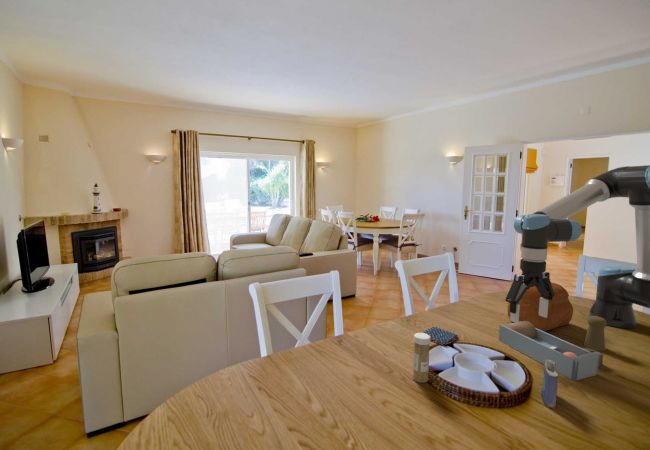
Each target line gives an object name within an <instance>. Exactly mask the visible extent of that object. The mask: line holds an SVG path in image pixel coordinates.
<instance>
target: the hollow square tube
mask: <svg viewBox="0 0 650 450" xmlns="http://www.w3.org/2000/svg"><path fill="white" fill-rule="evenodd" d="M586 350H587V349H586ZM587 351H589V352H596V351H595V350H592V349H588V350H587ZM599 353H600V358H599V366H602V365H603V363H604V362H603V361H604V353H602V352H599Z"/></svg>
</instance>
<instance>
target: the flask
mask: <svg viewBox="0 0 650 450" xmlns="http://www.w3.org/2000/svg"><path fill="white" fill-rule="evenodd" d="M555 365H556V363H555V362H554V361H551V360H548V359H547V360H546V361H545V364H543V376H542V383H541V390H540V391H541V392H540V396H541V400H542V402H543V404H544V405H545V407H547V408H549V409H553V410H554V409H555V408H556V406H557V405H556V403H557V393H558V385H559V384H558V382H559V373H558V372H557V371H556V370H555Z"/></svg>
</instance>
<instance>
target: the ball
mask: <svg viewBox="0 0 650 450" xmlns="http://www.w3.org/2000/svg"><path fill="white" fill-rule="evenodd" d="M563 354H564V355H566V356H569V357H571V358H574V357H575V356H577V355H576V354H574V353H571V352H565V353H563Z"/></svg>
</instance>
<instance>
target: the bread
mask: <svg viewBox="0 0 650 450" xmlns="http://www.w3.org/2000/svg"><path fill="white" fill-rule="evenodd" d="M523 284H524V283H523ZM524 285H525V284H524ZM551 285H552V288H553V291H554V297H553V299H552V300H550V299H549V306H548V314H547V318H545V317H542V316H540V315H539V303H540V298H541V297H542V296H541V294H540V293H539V291H538V289H537V288H536V286H533V287H530V288H529V289H527V290H526V292H525V293H524V295H523V297H522V298H521V300H520V301H519V303H518V304H519V305H520V308H519V321H521V322H523V321H528V322H530V323H531V324H533V326H534V327H535V328H537V329H539V330H541V331H544V332H548V331H551V330H554V329H557V328H559V327H564V326H566V325H568V324H569V323H570V322H571V321H572V318H573V315H574V307H573V305H572V302H570V299H569V297H570V295H569V292H568V290H567V289H566V288H564V287H563V286H562V285H561V284H558V283H556V282H552V281H551ZM542 298H543V297H542ZM515 300H516V299H515ZM507 317H508V319H509V320H510V303H509V302H507ZM513 323H515V322H513Z"/></svg>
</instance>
